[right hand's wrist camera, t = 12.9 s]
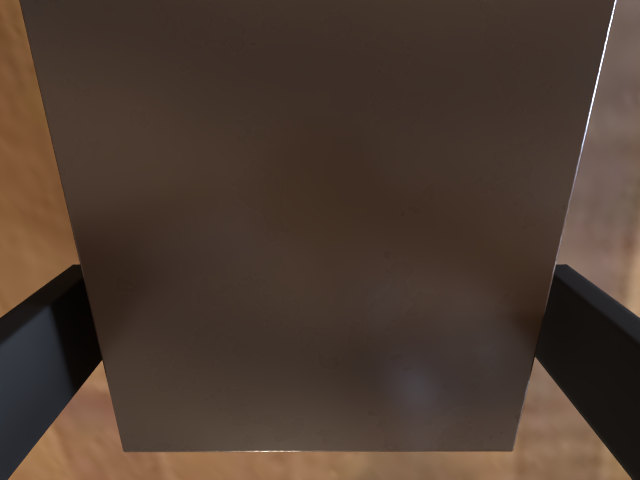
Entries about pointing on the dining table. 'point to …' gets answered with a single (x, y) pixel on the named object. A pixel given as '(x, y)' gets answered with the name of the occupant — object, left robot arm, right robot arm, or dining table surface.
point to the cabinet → (318, 210)
